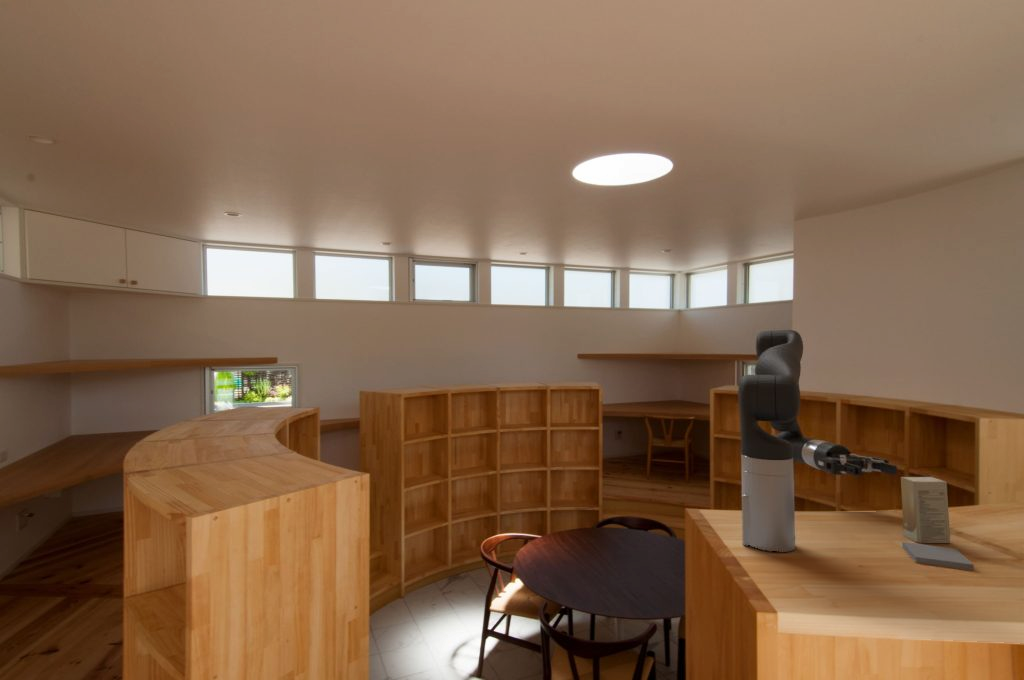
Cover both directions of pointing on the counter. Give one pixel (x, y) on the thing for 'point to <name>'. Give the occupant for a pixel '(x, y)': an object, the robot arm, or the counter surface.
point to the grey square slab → (937, 556)
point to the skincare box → (925, 509)
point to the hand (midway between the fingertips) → (878, 471)
